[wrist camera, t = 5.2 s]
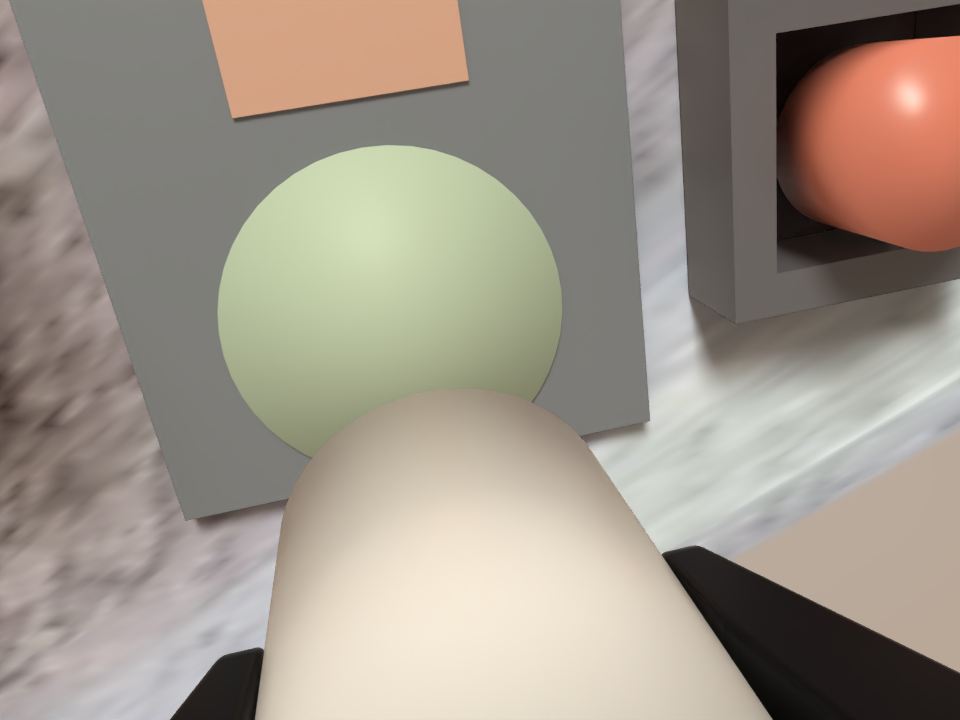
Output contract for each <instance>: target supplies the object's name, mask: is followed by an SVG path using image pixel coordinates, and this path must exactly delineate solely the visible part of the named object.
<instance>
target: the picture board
mask: <svg viewBox="0 0 960 720" xmlns="http://www.w3.org/2000/svg"><path fill="white" fill-rule="evenodd" d="M9 1H10V4H11V7H12V10H13V13H14V16H15V19H16V22H17V25H18V28H19V31H20V34H21V37H22V40H23V43H24V46H25V49H26V52H27V55H28V58H29V60H30V63H31V66H32V69H33V72H34V75H35V78H36V81H37V84H38V87H39V90H40V93H41V96H42V99H43V102H44V105H45V108H46V111H47V114H48V117H49V120H50V122H51V125H52V128H53V131H54V134H55V137H56V140H57V143H58V146H59V149H60V152H61V155H62V158H63V161H64V164H65V167H66V170H67V173H68V176H69V179H70V182H71V184H72V187H73V190H74V193H75V196H76V199H77V202H78V205H79V208H80V211H81V214H82V217H83V220H84V223H85V226H86V229H87V232H88V235H89V238H90V241H91V244H92V246H93V249H94V252H95V255H96V258H97V261H98V264H99V267H100V270H101V273H102V276H103V279H104V282H105V285H106V288H107V291H108V294H109V297H110V300H111V303H112V306H113V308H114V311H115V314H116V317H117V320H118V323H119V326H120V329H121V332H122V335H123V338H124V341H125V344H126V347H127V350H128V353H129V356H130V359H131V362H132V365H133V368H134V370H135V373H136V376H137V379H138V382H139V385H140V388H141V391H142V394H143V397H144V400H145V403H146V406H147V409H148V412H149V415H150V418H151V421H152V424H153V427H154V430H155V432H156V435H157V438H158V441H159V444H160V447H161V450H162V453H163V456H164V459H165V462H166V465H167V468H168V471H169V474H170V477H171V480H172V483H173V486H174V489H175V492H176V494H177V497H178V500H179V503H180V506H181V509H182V512H183V515H184V518H185V521H187V520H191V519H196V518H201V517H205V516H210V515H215V514H219V513H224V512H229V511H233V510H238V509H243V508H247V507H252V506H257V505H261V504H266V503H270V502H275V501H280V500H284V499H289V497H290V495H291V492H292V490H293V488H294V486H295V483H296V482H297V480H298V478H299V477H300V475H301V474H302V472H303V470H304V469H305V467H306V466H307V464H308V463H309V462H310V461H311V459H312V458H313V457H314V456H315V454H316V453H317V452H318V451H319V450H320V448H321V447H322V446H323V445H324V444H326V443H327V442H328V441H329V440H330V439H331V438H332V437H333V436H334V435H335V434H336V433H337V432H339V431H340V430H341V429H343V428H344V427H346V426H347V425H348V424H350V423H351V422H353V421H354V420H355V419H357V418H358V417H360V416H362V415H364V414H366V413H368V412H369V411H371V410H373V409H375V408H377V407H379V406H381V405H384V404H386V403H389V402H391V401H394V400H396V399H399V398H402V397H406V396H410V395H413V394H417V393H421V392H426V391H433V390H440V389H452V388H473V389H482V390H492V391H497V392H501V393H505V394H509V395H513V396H516V397H519V398H522V399H524V400H527V401H529V402H532V403H535V404H536V405H538V406H540V407H542V408H544V409H546V410H547V411H549V412H551V413H553V414H554V415H556V416H557V417H558V418H560V419H561V420H562V421H564V422H565V423H566V424H567V425H569V426H570V427H571V428H572V429H573V430H574V431H575V432H576V433H577V434H578V435H579V436H582V435H587V434H591V433H596V432H601V431H605V430H610V429H614V428H619V427H624V426H628V425H633V424H638V423H642V422H647V421H650V414H649V400H648V386H647V372H646V358H645V344H644V330H643V316H642V302H641V288H640V274H639V260H638V246H637V232H636V218H635V204H634V190H633V176H632V162H631V149H630V135H629V121H628V107H627V93H626V79H625V65H624V51H623V37H622V23H621V9H620V0H9Z"/></svg>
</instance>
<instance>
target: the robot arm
mask: <svg viewBox="0 0 960 720" xmlns="http://www.w3.org/2000/svg"><path fill="white" fill-rule="evenodd" d="M662 556H663V558H664V559H665V561H666V562H667V564H668V565H669V567H670V568H671V570H672V571H673V573H674V574H675V576H676V577H677V579H678V580H679V582H680V583H681V584H682V586H683V587H684V589H685V590H686V592H687V593H688V595H689V596H690V598H691V599H692V601H693V602H694V604H695V605H696V607H697V608H698V610H699V611H700V613H701V614H702V616H703V617H704V619H705V620H706V622H707V623H708V624H709V626H710V627H711V629H712V630H713V632H714V633H715V635H716V636H717V638H718V639H719V641H720V642H721V644H722V645H723V647H724V648H725V650H726V651H727V653H728V654H729V656H730V657H731V659H732V660H733V662H734V663H735V664H736V666H737V667H738V669H739V670H740V672H741V673H742V675H743V676H744V678H745V679H746V681H747V682H748V684H749V685H750V687H751V688H752V690H753V691H754V693H755V694H756V696H757V697H758V699H759V700H760V702H761V703H762V704H763V706H764V707H765V709H766V710H767V712H768V713H769V715H770V716H771V718H772V719H773V720H960V673H959V672H957V671H955V670H953V669H951V668H949V667H947V666H945V665H942V664H941V663H939V662H937V661H934V660H933V659H931V658H928V657H926V656H924V655H922V654H920V653H918V652H916V651H914V650H912V649H910V648H908V647H906V646H904V645H902V644H900V643H898V642H896V641H894V640H892V639H890V638H887V637H885V636H883V635H881V634H879V633H877V632H875V631H873V630H871V629H869V628H867V627H865V626H863V625H861V624H859V623H857V622H855V621H853V620H851V619H849V618H847V617H844V616H843V615H840V614H838V613H836V612H834V611H832V610H830V609H828V608H826V607H824V606H822V605H820V604H818V603H816V602H814V601H812V600H810V599H808V598H806V597H803V596H802V595H800V594H797V593H795V592H793V591H791V590H789V589H787V588H785V587H783V586H781V585H779V584H777V583H775V582H773V581H771V580H769V579H767V578H765V577H763V576H761V575H759V574H756V573H754V572H752V571H750V570H748V569H746V568H744V567H742V566H740V565H738V564H736V563H734V562H732V561H730V560H728V559H726V558H724V557H722V556H720V555H718V554H716V553H714V552H712V551H709V550H707V549H705V548H703V547H700V546H696V545H695V546H689V547H684V548H680V549H676V550H672V551H667V552H664V553H663V554H662ZM263 656H264V650H263V649H261V648H253V649H248V650H244V651H240V652H235V653H231V654H227V655H224V656H222V657H221V658H219V659H218V660H217V661H216V662H215V663H214V665H213V666H212V667H211V669H210V670H209V671H208V672H207V674H206V675H205V676H204V677H203V679H202V680H201V681H200V682H199V684H198V685H197V686H196V687H195V689H194V690H193V691H192V692H191V694H190V695H189V696H188V698H187V699H186V700H185V701H184V703H183V704H182V705H181V706H180V708H179V709H178V710H177V711H176V713H175V714H174V715H173V716H172V718H171V719H170V720H255V715H256V708H257V700H258V693H259V685H260V678H261V671H262V663H263Z"/></svg>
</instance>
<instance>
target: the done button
mask: <svg viewBox="0 0 960 720" xmlns="http://www.w3.org/2000/svg"><path fill="white" fill-rule="evenodd" d="M776 175H777V178H778V181H779V184H780V186H781V188H782V190H783V192H784V194H785V196H786V197H787V199H788V200H789V202H790V203H791V204H792V205H793V206H794V207H795V208H796V209H797V210H798V211H799V212H800V213H802V214H803V215H804V216H806V217H808V218H810V219H812V220H814V221H817V222H820V223H823V224H826V225H829V226H833V227H836V228H839V229H843V230H846V231H850V232H853V233H856V234H860V235H863V236H867V237H870V238H873V239H877V240H880V241H884V242H887V243H890V244H894V245H897V246H901V247H904V248H907V249H911V250H916V251H922V252H936V251H944V250H948V249H952V248H956V247H959V246H960V36H951V37H938V38H924V39H911V40H897V41H883V42H870V43H859V44H855V45H850V46H847V47H844V48H842V49H839V50H837V51H835V52H833V53H831V54H829V55H828V56H826V57H824V58H823V59H822V60H820V61H819V62H818V63H816V64H815V65H814V66H813V67H812V68H811V69H810V70H809V71H807V72H806V74H805V75H804V76H803V77H802V78H801V79H800V80H799V82H798V83H797V84H796V86H795V87H794V89H793V90H792V92H791V93H790V95H789V97H788V99H787V101H786V102H785V104H784V107H783V109H782V112H781V114H780V117H779V120H778V124H777V127H776Z"/></svg>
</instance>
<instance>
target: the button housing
mask: <svg viewBox="0 0 960 720" xmlns="http://www.w3.org/2000/svg"><path fill="white" fill-rule="evenodd" d="M675 8H676V29H677V50H678V71H679V92H680V113H681V134H682V155H683V176H684V197H685V218H686V239H687V260H688V282H689V296H691V297H692V298H694V299H696V300H697V301H699V302H701V303H702V304H704V305H705V306H707V307H709V308H710V309H712V310H714V311H715V312H717V313H718V314H720V315H722V316H723V317H725V318H727V319H728V320H730V321H732V322H733V323H735V324H739V323H744V322H749V321H754V320H759V319H764V318H769V317H774V316H778V315H783V314H788V313H793V312H798V311H803V310H808V309H813V308H818V307H823V306H828V305H833V304H838V303H842V302H847V301H852V300H857V299H862V298H867V297H872V296H877V295H882V294H887V293H892V292H897V291H901V290H906V289H911V288H916V287H921V286H926V285H931V284H936V283H941V282H946V281H951V280H956V279H960V246H959V247H956V248H952V249H948V250H944V251H936V252H922V251H916V250H911V249H907V248H904V247H901V246H897V245H894V244H890V243H887V242H884V241H880V240H877V239H873V238H870V237H867V236H863V235H860V234H856V233H853V232H850V231H846V230H843V229H835V230H830V231H825V232H820V233H815V234H809V235H804V236H799V237H794V238H788V239H783V240H778V241H777V192H776V33H781V32H787V31H793V30H800V29H806V28H812V27H818V26H824V25H831V24H837V23H843V22H849V21H856V20H862V19H868V18H874V17H881V16H887V15H893V14H899V13H905V12H912V11H916V28H915V39H924V38H938V37H951V36H960V0H675Z"/></svg>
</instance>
